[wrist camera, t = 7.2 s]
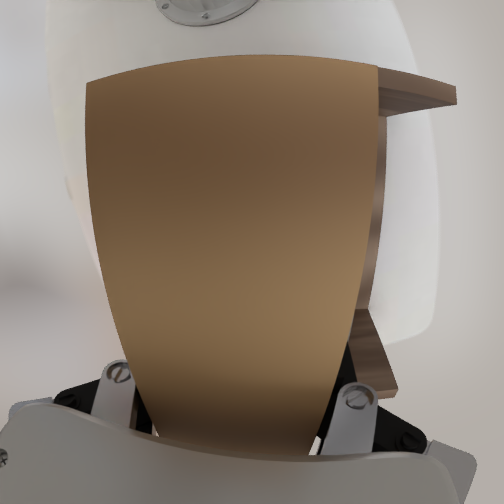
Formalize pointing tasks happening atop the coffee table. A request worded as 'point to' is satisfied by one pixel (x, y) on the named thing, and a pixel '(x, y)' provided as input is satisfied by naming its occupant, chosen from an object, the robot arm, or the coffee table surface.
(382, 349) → the shelf frame
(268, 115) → the shelf board
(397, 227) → the coffee table surface
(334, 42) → the coffee table surface
